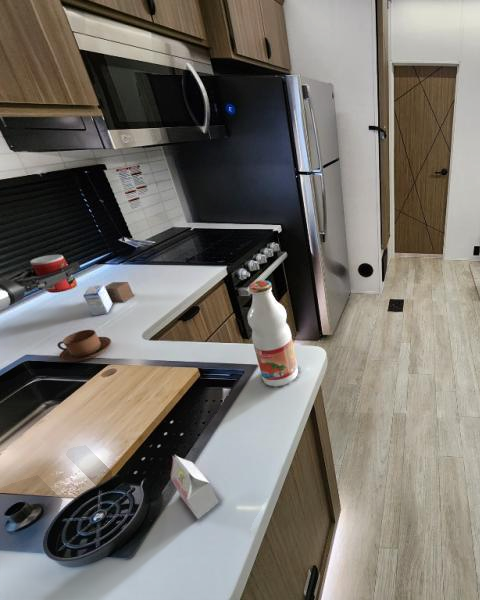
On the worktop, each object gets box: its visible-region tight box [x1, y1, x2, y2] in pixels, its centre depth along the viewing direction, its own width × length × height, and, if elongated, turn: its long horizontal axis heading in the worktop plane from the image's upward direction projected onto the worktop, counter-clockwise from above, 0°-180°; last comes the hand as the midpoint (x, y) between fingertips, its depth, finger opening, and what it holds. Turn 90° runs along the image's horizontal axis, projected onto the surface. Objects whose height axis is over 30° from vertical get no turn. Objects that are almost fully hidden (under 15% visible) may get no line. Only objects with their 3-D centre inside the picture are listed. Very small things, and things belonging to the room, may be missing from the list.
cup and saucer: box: [57, 329, 112, 363], centre depth 99 cm, size 12×12×6 cm
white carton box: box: [169, 454, 220, 520], centre depth 59 cm, size 4×7×10 cm, turn 53°
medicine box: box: [83, 284, 113, 316], centre depth 122 cm, size 8×4×9 cm, turn 27°
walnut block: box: [104, 281, 134, 303], centre depth 131 cm, size 6×6×6 cm
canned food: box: [29, 254, 78, 294], centre depth 112 cm, size 8×8×11 cm
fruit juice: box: [246, 279, 299, 387], centre depth 84 cm, size 9×9×28 cm
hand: (65, 265), depth 115 cm, fingers closed on canned food, 8 cm apart
